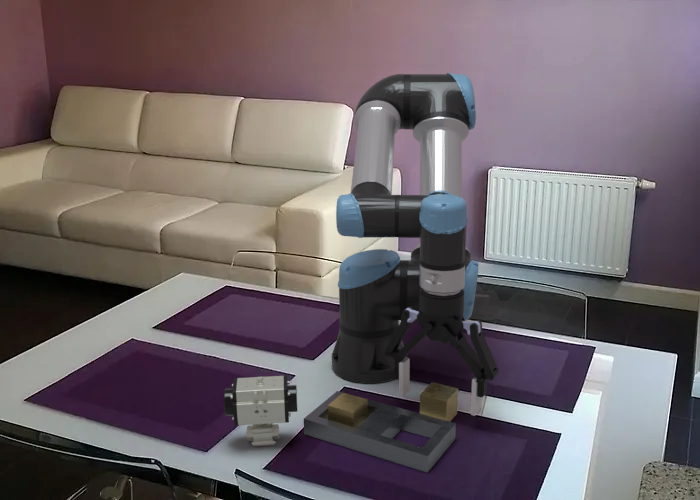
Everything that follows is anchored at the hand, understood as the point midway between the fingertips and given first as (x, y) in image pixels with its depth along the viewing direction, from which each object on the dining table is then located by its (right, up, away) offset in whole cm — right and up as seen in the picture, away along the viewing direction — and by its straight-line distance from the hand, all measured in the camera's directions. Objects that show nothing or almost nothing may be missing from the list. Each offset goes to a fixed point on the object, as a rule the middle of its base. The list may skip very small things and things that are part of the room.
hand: (439, 402), depth 137 cm
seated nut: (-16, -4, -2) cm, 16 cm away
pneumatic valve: (-30, -6, -6) cm, 31 cm away
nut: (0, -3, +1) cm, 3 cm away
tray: (-11, -5, -5) cm, 13 cm away
